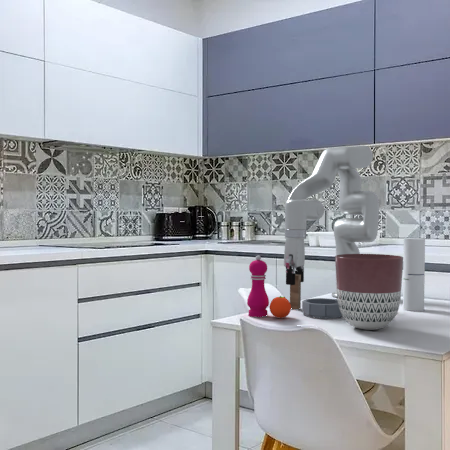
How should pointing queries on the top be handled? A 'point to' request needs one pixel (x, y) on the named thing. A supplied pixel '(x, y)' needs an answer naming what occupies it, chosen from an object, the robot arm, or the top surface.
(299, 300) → the brown wooden block
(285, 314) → the clementine
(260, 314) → the pepper mill
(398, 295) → the planter
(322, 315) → the grey faceted bowl
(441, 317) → the top surface
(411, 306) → the cylindrical container
